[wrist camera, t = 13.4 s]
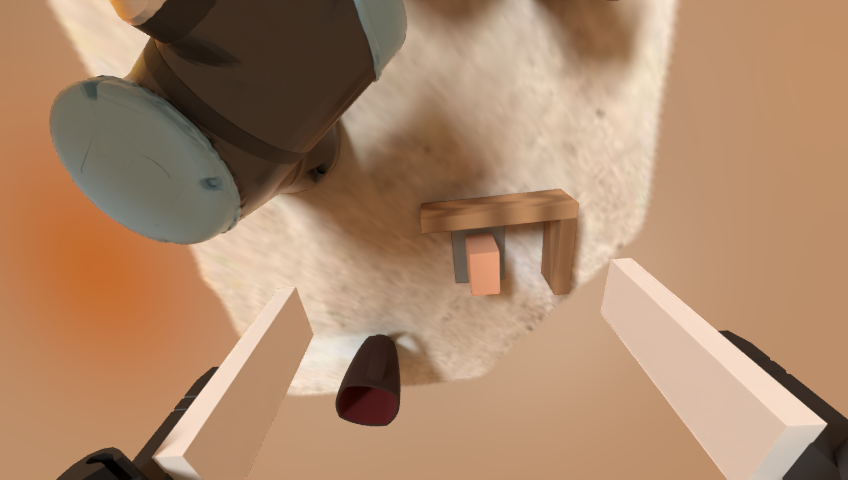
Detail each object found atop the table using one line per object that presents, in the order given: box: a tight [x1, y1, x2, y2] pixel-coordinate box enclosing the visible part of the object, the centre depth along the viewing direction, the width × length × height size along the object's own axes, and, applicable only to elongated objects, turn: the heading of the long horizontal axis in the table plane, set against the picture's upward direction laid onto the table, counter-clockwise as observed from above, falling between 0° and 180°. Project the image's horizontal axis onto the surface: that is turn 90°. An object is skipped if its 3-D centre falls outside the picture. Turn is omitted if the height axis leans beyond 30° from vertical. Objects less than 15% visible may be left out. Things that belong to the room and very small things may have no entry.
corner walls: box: [420, 189, 579, 295], centre depth 44 cm, size 20×14×6 cm
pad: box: [451, 225, 504, 283], centre depth 47 cm, size 8×11×1 cm
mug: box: [336, 335, 400, 426], centre depth 51 cm, size 10×14×12 cm
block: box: [465, 233, 500, 296], centre depth 45 cm, size 7×4×6 cm, turn 7°
